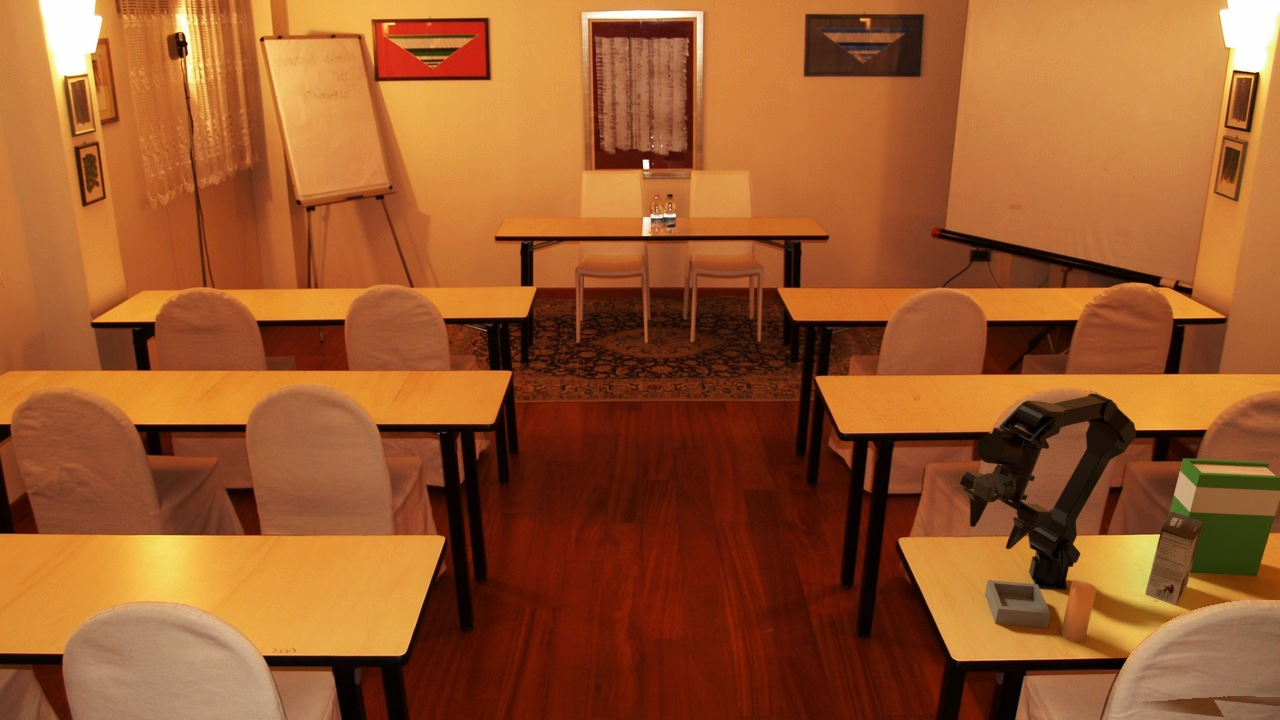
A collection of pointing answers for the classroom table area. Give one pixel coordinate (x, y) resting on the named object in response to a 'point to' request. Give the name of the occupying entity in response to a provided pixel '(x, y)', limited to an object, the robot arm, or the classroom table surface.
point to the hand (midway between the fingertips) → (989, 537)
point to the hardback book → (1228, 512)
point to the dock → (1017, 604)
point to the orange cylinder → (1078, 611)
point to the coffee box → (1174, 558)
